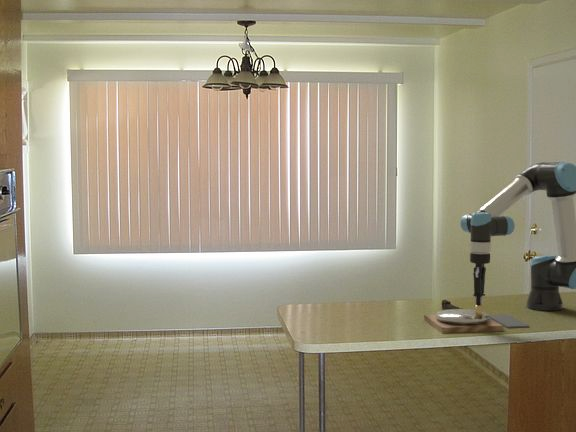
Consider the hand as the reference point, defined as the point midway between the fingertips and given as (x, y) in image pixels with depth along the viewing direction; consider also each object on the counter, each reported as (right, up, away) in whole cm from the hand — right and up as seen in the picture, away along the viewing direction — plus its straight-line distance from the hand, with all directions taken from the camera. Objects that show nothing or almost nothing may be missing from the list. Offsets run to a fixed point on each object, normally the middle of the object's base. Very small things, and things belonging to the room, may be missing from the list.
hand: (478, 312), depth 294 cm
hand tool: (-5, -4, +30) cm, 30 cm away
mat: (+15, -5, +12) cm, 19 cm away
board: (-5, -6, +6) cm, 10 cm away
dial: (-5, -3, +6) cm, 8 cm away
